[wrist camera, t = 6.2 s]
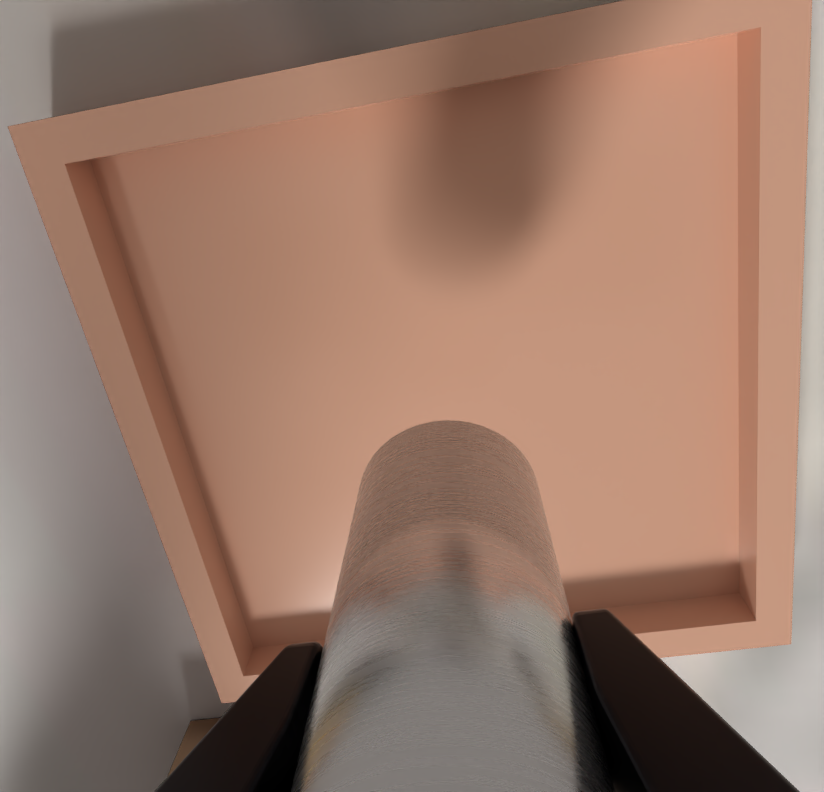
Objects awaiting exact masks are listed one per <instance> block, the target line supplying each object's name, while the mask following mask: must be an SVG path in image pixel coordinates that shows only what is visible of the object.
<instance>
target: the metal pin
mask: <svg viewBox="0 0 824 792" xmlns="http://www.w3.org/2000/svg"><path fill="white" fill-rule="evenodd" d="M291 792H615V790H614V786H613V782H612V778H611V774H610V770H609V766H608V762H607V758H606V754H605V750H604V746H603V742H602V739H601V735H600V732H599V728H598V725H597V721H596V717H595V713H594V710H593V706H592V702H591V698H590V694H589V689H588V685H587V681H586V677H585V673H584V669H583V665H582V661H581V657H580V653H579V649H578V645H577V641H576V637H575V633H574V629H573V624H572V618H571V614H570V610H569V606H568V602H567V598H566V594H565V591H564V587H563V583H562V579H561V575H560V571H559V567H558V563H557V559H556V555H555V551H554V547H553V543H552V539H551V535H550V531H549V527H548V523H547V519H546V515H545V511H544V507H543V503H542V499H541V495H540V491H539V487H538V483H537V479H536V477H535V474H534V471H533V469H532V467H531V465H530V464H529V462H528V460H527V459H526V457H525V456H524V455H523V453H522V452H521V451H520V450H519V449H518V448H517V447H516V446H515V445H514V444H513V443H512V442H510V441H509V440H508V439H506V438H505V437H504V436H502V435H500V434H499V433H497V432H495V431H493V430H491V429H489V428H486V427H484V426H481V425H477V424H474V423H470V422H464V421H454V420H443V421H432V422H428V423H423V424H419V425H416V426H413V427H411V428H408V429H406V430H404V431H402V432H400V433H398V434H397V435H395V436H394V437H392V438H391V439H389V440H388V441H387V442H386V443H385V444H383V445H382V446H381V447H380V448H379V449H378V451H377V452H376V453H375V454H374V455H373V457H372V458H371V460H370V461H369V463H368V464H367V466H366V469H365V471H364V473H363V476H362V479H361V483H360V487H359V491H358V495H357V500H356V504H355V509H354V513H353V518H352V522H351V526H350V531H349V535H348V540H347V544H346V549H345V553H344V558H343V562H342V566H341V571H340V575H339V580H338V584H337V589H336V593H335V597H334V602H333V606H332V611H331V615H330V620H329V624H328V628H327V633H326V637H325V642H324V646H323V651H322V655H321V659H320V664H319V668H318V673H317V677H316V682H315V686H314V690H313V695H312V699H311V704H310V708H309V713H308V717H307V722H306V726H305V730H304V735H303V739H302V744H301V748H300V753H299V757H298V761H297V766H296V770H295V775H294V779H293V784H292V788H291Z"/></svg>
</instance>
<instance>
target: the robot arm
mask: <svg viewBox="0 0 824 792" xmlns="http://www.w3.org/2000/svg"><path fill="white" fill-rule="evenodd" d="M572 624H573V629H574V633H575V637H576V641H577V645H578V649H579V653H580V657H581V661H582V665H583V669H584V673H585V677H586V681H587V685H588V689H589V694H590V698H591V702H592V706H593V710H594V713H595V717H596V721H597V725H598V728H599V732H600V735H601V739H602V742H603V746H604V750H605V754H606V758H607V762H608V766H609V770H610V774H611V778H612V782H613V786H614V790H615V792H799V791H798V790H797V789H796V788H795V787H794V786H793V785H792V784H791V783H790V782H789V781H788V780H787V779H786V778H785V777H784V776H783V775H782V774H781V773H780V772H778V771H777V770H776V769H775V768H774V767H773V766H772V765H771V764H770V763H769V762H768V761H767V760H766V759H765V758H764V757H763V756H762V755H761V754H760V753H759V752H757V751H756V750H755V749H754V748H753V747H752V746H751V745H750V744H749V743H748V742H747V741H746V740H745V739H744V738H743V737H742V736H741V735H740V734H739V733H738V732H736V731H735V730H734V729H733V728H732V727H731V726H730V725H729V724H728V723H727V722H726V721H725V720H724V719H723V718H722V717H721V716H720V715H719V714H718V713H716V712H715V711H714V710H713V709H712V708H711V707H710V706H709V705H708V704H707V703H706V702H705V701H704V700H703V699H702V698H701V697H700V696H699V695H698V694H697V693H695V692H694V691H693V690H692V689H691V688H690V687H689V686H688V685H687V684H686V683H685V682H684V681H683V680H682V679H681V678H680V677H679V676H678V675H677V674H676V673H674V672H673V671H672V670H671V669H670V668H669V667H668V666H667V665H666V664H665V663H664V662H663V661H662V660H661V659H660V658H659V657H658V656H657V655H656V654H655V653H653V652H652V651H651V650H650V649H649V648H648V647H647V646H646V645H645V644H644V643H643V642H642V641H641V640H640V639H639V638H638V637H637V636H636V635H635V634H633V633H632V632H631V631H630V630H629V629H628V628H627V627H626V626H625V625H624V624H623V623H622V622H621V621H620V620H619V619H618V618H617V617H616V616H615V615H614V614H612V613H611V612H610V611H609V610H607V609H594V610H586V611H578V612H575V613H574V614H573V616H572ZM322 651H323V647H322V645H321V644H320V643H318V642H315V641H314V642H305V643H296V644H291V645H288V646H286V647H285V648H284V649H283V650H282V651H281V652H280V653H279V654H278V655H277V656H276V657H275V659H274V660H273V661H272V662H271V663H270V664H269V665H268V666H267V667H266V669H265V670H264V671H263V672H262V673H261V674H260V675H259V676H258V677H257V678H256V680H255V681H254V682H253V683H252V684H251V685H250V686H249V687H248V688H247V690H246V691H245V692H244V693H243V694H242V695H241V696H240V697H239V698H238V700H237V701H236V702H235V703H234V704H233V705H232V706H231V707H230V708H229V710H228V711H227V712H226V713H225V714H224V715H223V716H222V717H221V718H220V719H219V721H218V722H217V723H216V724H215V725H214V726H213V727H212V728H211V729H210V731H209V732H208V733H207V734H206V735H205V736H204V737H203V738H202V739H201V741H200V742H199V743H198V744H197V745H196V746H195V747H194V748H193V749H192V750H191V752H190V753H189V754H188V755H187V756H186V757H185V758H184V759H183V760H182V762H181V763H180V764H179V765H178V766H177V767H176V768H175V769H174V770H173V772H172V773H171V774H170V775H169V776H168V777H167V778H166V779H165V780H164V782H163V783H162V784H161V785H160V786H159V787H158V788H157V789H156V790H155V791H154V792H291V788H292V784H293V779H294V775H295V770H296V766H297V761H298V757H299V753H300V748H301V744H302V739H303V735H304V730H305V726H306V722H307V717H308V713H309V708H310V704H311V699H312V695H313V690H314V686H315V682H316V677H317V673H318V668H319V664H320V659H321V655H322Z"/></svg>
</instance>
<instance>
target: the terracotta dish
mask: <svg viewBox="0 0 824 792" xmlns="http://www.w3.org/2000/svg"><path fill="white" fill-rule="evenodd" d="M811 15H812V0H623V1H618V2H613V3H608V4H603V5H598V6H594V7H589V8H584V9H579V10H574V11H569V12H564V13H559V14H555V15H550V16H545V17H540V18H535V19H530V20H525V21H520V22H515V23H511V24H506V25H501V26H496V27H491V28H486V29H481V30H476V31H472V32H467V33H462V34H457V35H452V36H447V37H442V38H437V39H432V40H428V41H423V42H418V43H413V44H408V45H403V46H398V47H393V48H389V49H384V50H379V51H374V52H369V53H364V54H359V55H354V56H349V57H345V58H340V59H335V60H330V61H325V62H320V63H315V64H310V65H305V66H301V67H296V68H291V69H286V70H281V71H276V72H271V73H266V74H262V75H257V76H252V77H247V78H242V79H237V80H232V81H227V82H222V83H218V84H213V85H208V86H203V87H198V88H193V89H188V90H183V91H179V92H174V93H169V94H164V95H159V96H154V97H149V98H144V99H139V100H135V101H130V102H125V103H120V104H115V105H110V106H105V107H100V108H96V109H91V110H86V111H81V112H76V113H71V114H66V115H61V116H56V117H52V118H47V119H42V120H37V121H32V122H27V123H22V124H17V125H13V126H8V129H9V131H10V134H11V137H12V140H13V142H14V145H15V148H16V150H17V153H18V156H19V158H20V161H21V164H22V166H23V169H24V172H25V175H26V177H27V180H28V183H29V185H30V188H31V191H32V193H33V196H34V199H35V201H36V204H37V207H38V210H39V212H40V215H41V218H42V220H43V223H44V226H45V228H46V231H47V234H48V237H49V239H50V242H51V245H52V247H53V250H54V253H55V255H56V258H57V261H58V263H59V266H60V269H61V272H62V274H63V277H64V280H65V282H66V285H67V288H68V290H69V293H70V296H71V298H72V301H73V304H74V307H75V309H76V312H77V315H78V317H79V320H80V323H81V325H82V328H83V331H84V334H85V336H86V339H87V342H88V344H89V347H90V350H91V352H92V355H93V358H94V360H95V363H96V366H97V369H98V371H99V374H100V377H101V379H102V382H103V385H104V387H105V390H106V393H107V395H108V398H109V401H110V404H111V406H112V409H113V412H114V414H115V417H116V420H117V422H118V425H119V428H120V431H121V433H122V436H123V439H124V441H125V444H126V447H127V449H128V452H129V455H130V457H131V460H132V463H133V466H134V468H135V471H136V474H137V476H138V479H139V482H140V484H141V487H142V490H143V492H144V495H145V498H146V501H147V503H148V506H149V509H150V511H151V514H152V517H153V519H154V522H155V525H156V528H157V530H158V533H159V536H160V538H161V541H162V544H163V546H164V549H165V552H166V554H167V557H168V560H169V563H170V565H171V568H172V571H173V573H174V576H175V579H176V581H177V584H178V587H179V589H180V592H181V595H182V598H183V600H184V603H185V606H186V608H187V611H188V614H189V616H190V619H191V622H192V625H193V627H194V630H195V633H196V635H197V638H198V641H199V643H200V646H201V649H202V651H203V654H204V657H205V660H206V662H207V665H208V668H209V670H210V673H211V676H212V678H213V681H214V684H215V686H216V689H217V692H218V695H219V697H220V700H221V703H231V702H236V701H237V700H238V698H239V697H240V696H241V695H242V694H243V693H244V692H245V691H246V690H247V688H248V687H249V686H250V685H251V684H252V683H253V682H254V681H255V680H256V678H257V677H258V676H259V675H260V674H261V673H262V672H263V671H264V670H265V669H266V667H267V666H268V665H269V664H270V663H271V662H272V661H273V660H274V659H275V657H276V656H277V655H278V654H279V653H280V652H281V651H282V650H283V649H284V648H285V647H286V646H288V645H291V644H296V643H305V642H314V641H315V642H318V643H320V644H321V645H322V647H323V646H324V642H325V637H326V633H327V628H328V624H329V620H330V615H331V611H332V606H333V602H334V597H335V593H336V589H337V584H338V580H339V575H340V571H341V566H342V562H343V558H344V553H345V549H346V544H347V540H348V535H349V531H350V526H351V522H352V518H353V513H354V509H355V504H356V500H357V495H358V491H359V487H360V483H361V479H362V476H363V473H364V471H365V469H366V466H367V464H368V463H369V461H370V460H371V458H372V457H373V455H374V454H375V453H376V452H377V451H378V449H379V448H380V447H381V446H382V445H383V444H385V443H386V442H387V441H388V440H389V439H391V438H392V437H394V436H395V435H397V434H398V433H400V432H402V431H404V430H406V429H408V428H411V427H413V426H416V425H419V424H423V423H428V422H432V421H443V420H454V421H464V422H470V423H474V424H477V425H481V426H484V427H486V428H489V429H491V430H493V431H495V432H497V433H499V434H500V435H502V436H504V437H505V438H506V439H508V440H509V441H510V442H512V443H513V444H514V445H515V446H516V447H517V448H518V449H519V450H520V451H521V452H522V453H523V455H524V456H525V457H526V459H527V460H528V462H529V464H530V465H531V467H532V469H533V471H534V474H535V477H536V479H537V483H538V487H539V491H540V495H541V499H542V503H543V507H544V511H545V515H546V519H547V523H548V527H549V531H550V535H551V539H552V543H553V547H554V551H555V555H556V559H557V563H558V567H559V571H560V575H561V579H562V583H563V587H564V591H565V594H566V598H567V602H568V606H569V610H570V614H571V618H572V616H573V614H574V613H575V612H578V611H586V610H594V609H607V610H609V611H610V612H611V613H612V614H614V615H615V616H616V617H617V618H618V619H619V620H620V621H621V622H622V623H623V624H624V625H625V626H626V627H627V628H628V629H629V630H630V631H631V632H632V633H633V634H635V635H636V636H637V637H638V638H639V639H640V640H641V641H642V642H643V643H644V644H645V645H646V646H647V647H648V648H649V649H650V650H651V651H652V652H653V653H655V654H656V655H657V656H658V657H659V658H663V657H673V656H682V655H692V654H701V653H711V652H721V651H730V650H740V649H749V648H759V647H769V646H778V645H788V644H791V634H792V603H793V572H794V541H795V510H796V479H797V448H798V418H799V387H800V356H801V325H802V294H803V263H804V232H805V201H806V170H807V139H808V108H809V77H810V46H811Z"/></svg>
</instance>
